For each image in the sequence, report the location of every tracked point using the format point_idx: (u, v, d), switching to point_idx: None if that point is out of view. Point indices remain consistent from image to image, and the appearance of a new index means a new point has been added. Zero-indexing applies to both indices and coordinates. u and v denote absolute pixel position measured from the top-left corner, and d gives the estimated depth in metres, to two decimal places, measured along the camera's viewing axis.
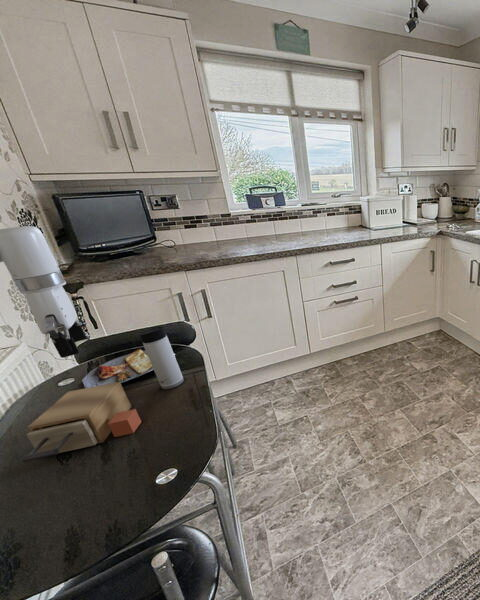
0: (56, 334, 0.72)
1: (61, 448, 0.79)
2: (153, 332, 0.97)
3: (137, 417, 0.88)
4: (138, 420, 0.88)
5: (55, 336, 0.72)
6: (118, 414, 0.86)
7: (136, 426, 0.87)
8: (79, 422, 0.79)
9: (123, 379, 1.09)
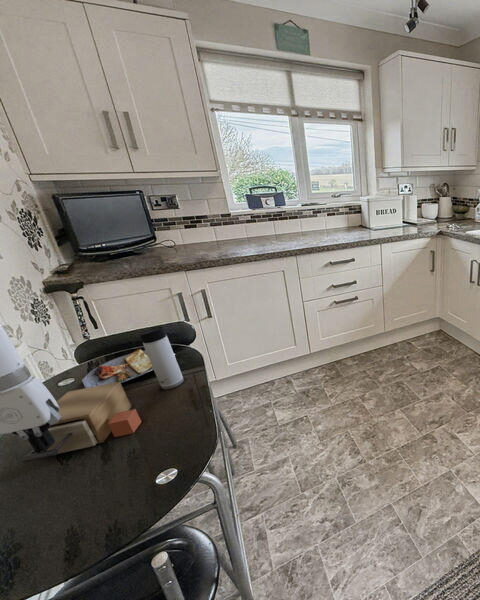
0: None
1: (61, 449, 0.79)
2: (153, 332, 0.97)
3: (137, 417, 0.88)
4: (138, 420, 0.88)
5: None
6: (118, 414, 0.86)
7: (136, 426, 0.87)
8: (79, 422, 0.79)
9: (123, 379, 1.09)
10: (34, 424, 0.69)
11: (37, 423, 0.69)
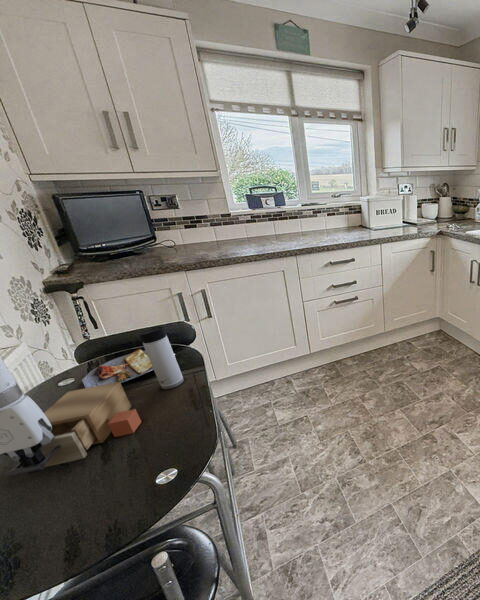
0: None
1: (48, 461, 0.75)
2: (153, 332, 0.97)
3: (137, 417, 0.88)
4: (138, 420, 0.88)
5: None
6: (118, 414, 0.86)
7: (136, 426, 0.87)
8: (67, 434, 0.75)
9: (123, 379, 1.09)
10: (25, 445, 0.67)
11: (28, 444, 0.67)
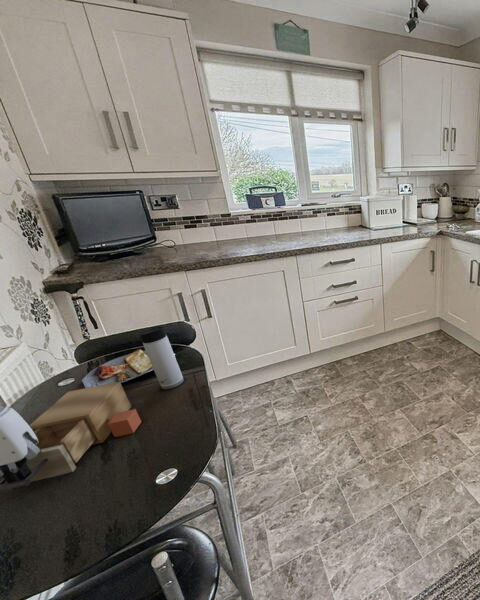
0: None
1: (35, 476, 0.72)
2: (153, 332, 0.97)
3: (137, 417, 0.88)
4: (138, 420, 0.88)
5: None
6: (118, 414, 0.86)
7: (136, 426, 0.87)
8: (55, 447, 0.71)
9: (123, 379, 1.09)
10: (9, 460, 0.63)
11: (12, 459, 0.63)
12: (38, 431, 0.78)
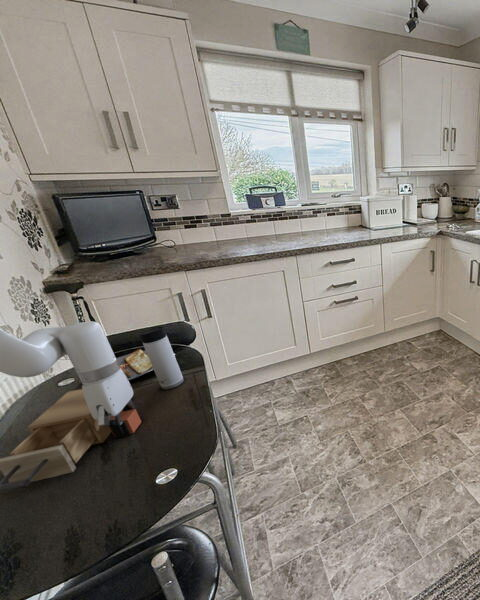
0: (108, 425, 0.80)
1: (35, 476, 0.72)
2: (153, 332, 0.97)
3: (137, 417, 0.88)
4: (138, 420, 0.88)
5: (108, 425, 0.80)
6: None
7: (136, 426, 0.87)
8: (55, 447, 0.71)
9: None
10: None
11: None
12: (38, 431, 0.78)
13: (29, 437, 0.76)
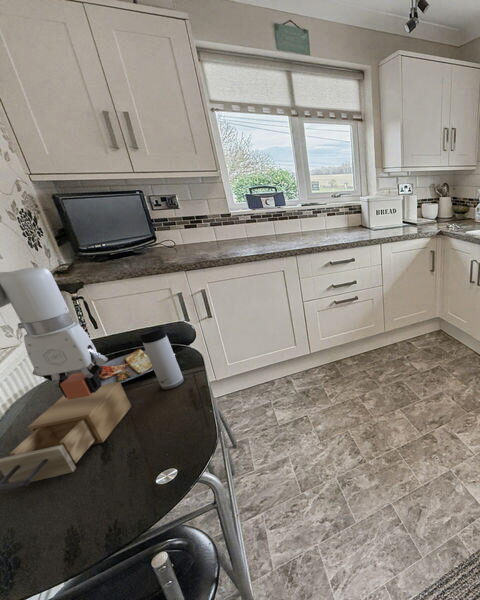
0: None
1: (35, 476, 0.72)
2: (153, 332, 0.97)
3: None
4: None
5: (100, 366, 0.78)
6: (67, 381, 0.76)
7: None
8: (55, 447, 0.71)
9: (123, 379, 1.09)
10: (77, 367, 0.74)
11: (79, 366, 0.74)
12: (38, 431, 0.78)
13: (29, 437, 0.76)
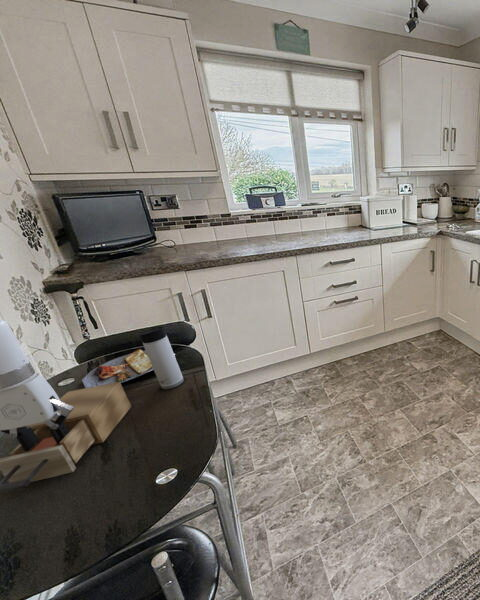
0: (69, 413, 0.75)
1: (35, 476, 0.72)
2: (153, 332, 0.97)
3: None
4: None
5: (66, 416, 0.74)
6: (38, 448, 0.74)
7: None
8: (55, 447, 0.71)
9: (123, 379, 1.09)
10: (37, 420, 0.70)
11: (40, 419, 0.71)
12: (38, 431, 0.78)
13: None
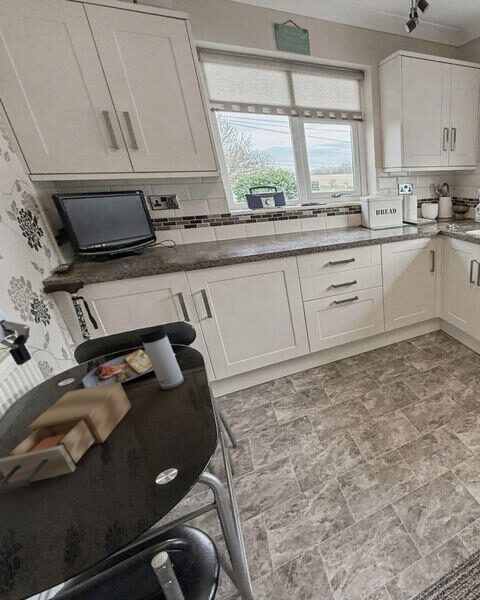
0: (28, 333, 0.74)
1: (35, 476, 0.72)
2: (153, 332, 0.97)
3: None
4: None
5: (26, 336, 0.73)
6: (38, 448, 0.74)
7: None
8: (55, 447, 0.71)
9: (123, 379, 1.09)
10: None
11: None
12: (38, 431, 0.78)
13: (29, 437, 0.76)
